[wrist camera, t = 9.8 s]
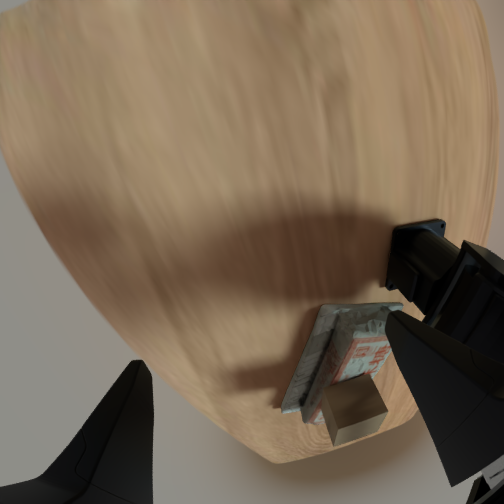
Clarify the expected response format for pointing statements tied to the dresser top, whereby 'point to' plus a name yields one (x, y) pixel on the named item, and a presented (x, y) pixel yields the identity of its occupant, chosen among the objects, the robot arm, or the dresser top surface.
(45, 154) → the dresser top surface
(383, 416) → the walnut block
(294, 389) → the packaged product
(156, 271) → the dresser top surface
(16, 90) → the dresser top surface
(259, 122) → the dresser top surface
